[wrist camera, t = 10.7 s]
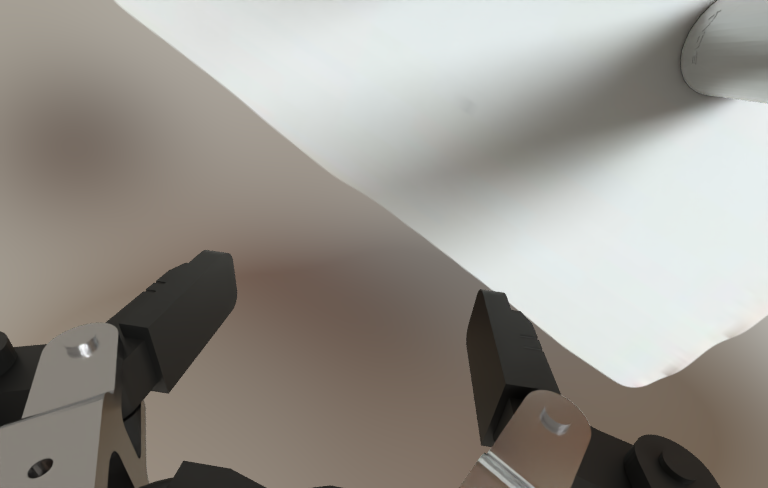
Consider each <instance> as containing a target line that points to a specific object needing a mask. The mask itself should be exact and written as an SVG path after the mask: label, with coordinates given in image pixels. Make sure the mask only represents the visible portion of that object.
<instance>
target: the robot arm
mask: <svg viewBox="0 0 768 488" xmlns="http://www.w3.org/2000/svg"><path fill="white" fill-rule="evenodd" d="M681 71H682V74H683V77H684V80H685V81H686V83H687V84H688V85H689V87H690V88H692V89H693V90H695V91H696V92H698V93H701V94H704V95H708V96H716V97H723V98H731V99H738V100H745V101H752V102H760V103H768V0H717V1H716V2H715V3H714V4H712V5H711V6H710V7H709V8H708V9H707V10H706V11H705V12H704V13H703V14H702V15H701V16H700V18H699V19H698V20H697V22H696V23H695V24H694V26H693V27H692V29H691V31H690V33H689V35H688V36H687V38H686V41H685V44H684V47H683V50H682V56H681ZM234 273H235V272H234V265H233V259H232V256H231V255H230V254H229V253H224V252H216V251H209V250H204V251H202V252H201V253H200V254H199V255H197V256H196V257H195V258H194V259H193V260H192V261H190V262H189V263H184V264H182V265H180V266H178V267H175V268H173V269H172V270H169V271H168V272H167V273H165V274H164V275H163V276H162V277H160V278H159V279H158V280H157V281H156V283H153V284H152V285H151V286H150V287H148V288H147V289H146V292H142V293H141V294H140V295H139V296H137V297H136V298H135V299H134V300H133V301H131V302H130V303H129V304H128V305H126V306H125V307H124V308H123V309H122V310H120V311H119V312H118V313H117V314H116V315H115V316H113V317H112V318H111V319H110V320H108V321H107V322H106V323H90V324H85V325H81V326H78V327H75V328H72V329H70V330H68V331H65V332H63V333H62V334H60V335H58V336H57V337H55V338H54V339H53V340H51V341H50V342H49V343H48V344H45V345H33V346H23V347H13V346H12V344H11V342H10V341H9V339H8V337H7V336H6V335H5V334H4V333H3V332H0V488H266V487H264V486H262V485H260V484H258V483H256V482H254V481H253V480H251V479H249V478H247V477H245V476H243V475H241V474H239V473H238V472H236V471H233V470H232V469H228V468H223V467H217V466H211V465H205V464H199V463H194V462H188V461H183V463H182V464H181V466H180V468H179V469H178V471H177V473H176V474H175V476H174V477H173V478H168V479H164V480H160V481H156V482H153V483H150V484H149V481H148V475H147V467H146V407H145V403H144V400H143V399H144V398H145V397H146V396H147V395H148V393H149V392H150V391H156V392H162V393H169V392H170V391H171V390H172V388H173V387H174V386H175V385H176V383H177V382H178V381H179V379H180V378H181V377H182V375H183V374H184V373H185V371H186V370H187V369H188V367H189V366H190V365H191V364H192V362H193V361H194V359H195V358H196V357H197V356H198V354H199V353H200V352H201V350H202V349H203V348H204V347H205V345H206V344H207V343H208V341H209V340H210V339H211V338H212V336H213V335H214V334H215V332H216V331H217V330H218V328H219V327H220V326H221V325H222V323H223V322H224V320H225V319H226V318H227V317H228V315H229V314H230V313H231V311H232V310H233V308H234V306H235V303H236V299H237V287H236V280H235V274H234ZM466 341H467V342H466V345H467V352H468V359H469V366H470V373H471V380H472V386H473V393H474V400H475V406H476V414H477V420H478V427H479V434H480V441H481V445H483V446H488V447H491V449H490V450H489V452H488V453H487V454H486V453H484V454H483V455H482V456H481V457H480V458H479V460H478V461H477V462H476V464H475V465H474V467H473V468H472V470H471V471H470V473H469V474H468V475H467V477H466V478H465V480H464V481H463V483H462V484H461V486H460V487H459V488H720V486H719V485H718V483H717V482H716V480H715V478H714V477H713V475H712V474H711V473H710V471H709V470H708V469H707V468H706V467H705V466H704V464H703V463H702V462H701V461H700V460H699V459H698V458H697V457H695V456H694V455H693V454H692V453H690V452H689V451H688V450H687V449H685V448H684V447H682V446H680V445H679V444H677V443H675V442H673V441H671V440H669V439H667V438H664V437H661V436H657V435H644V436H641V437H640V438H638V440H637V441H636V442H635V444H634V445H632V444H629V443H627V442H625V441H622V440H620V439H617V438H615V437H613V436H611V435H608V434H606V433H604V432H601V431H599V430H597V429H595V428H593V427H592V426H590V425H589V422H588V420H587V418H586V417H585V415H584V414H583V413H582V411H581V410H580V409H579V408H578V407H577V406H576V405H575V404H573V403H572V402H571V401H570V400H568V399H567V398H565V397H563V396H562V395H561V393H560V391H559V389H558V386H557V384H556V381H555V379H554V376H553V374H552V371H551V369H550V367H549V364H548V362H547V359H546V357H545V354H544V352H543V351H542V347H541V344H540V342H539V340H537V335H536V332H535V330H534V327H533V325H532V323H531V322H530V321H529V320H528V319H527V318H526V317H525V316H524V315H523V313H522V312H521V311H514V310H511V308H510V305H509V302H508V299H507V296H506V294H505V293H502V292H495V291H488V290H481V289H480V290H479V291H478V294H477V297H476V300H475V304H474V307H473V311H472V315H471V318H470V322H469V325H468V329H467V338H466ZM315 488H341V487H335V486H323V487H315Z"/></svg>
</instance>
